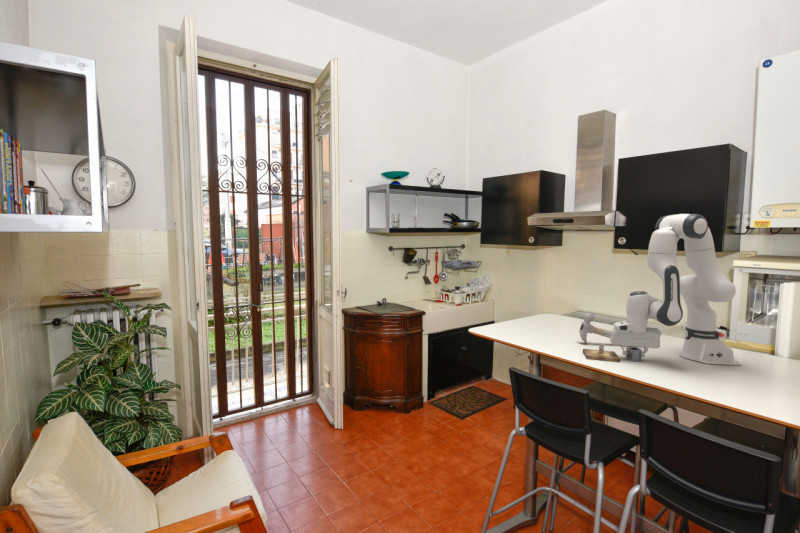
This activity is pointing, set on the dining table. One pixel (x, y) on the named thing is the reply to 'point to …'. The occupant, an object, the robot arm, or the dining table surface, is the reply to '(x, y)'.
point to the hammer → (591, 328)
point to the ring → (633, 354)
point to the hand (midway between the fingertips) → (633, 355)
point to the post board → (601, 354)
